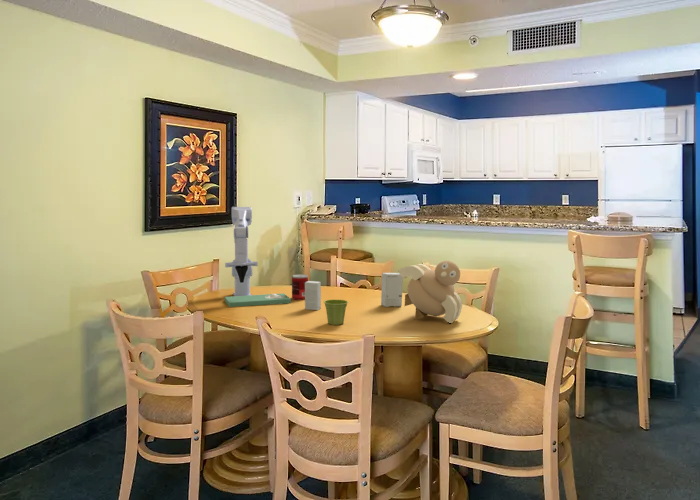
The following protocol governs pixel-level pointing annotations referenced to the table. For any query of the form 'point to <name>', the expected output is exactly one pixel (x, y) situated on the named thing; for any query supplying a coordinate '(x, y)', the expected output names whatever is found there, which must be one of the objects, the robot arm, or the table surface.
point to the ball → (273, 296)
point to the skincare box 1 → (312, 295)
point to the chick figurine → (433, 290)
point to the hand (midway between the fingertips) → (241, 282)
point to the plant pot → (335, 311)
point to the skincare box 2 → (391, 289)
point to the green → (256, 300)
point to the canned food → (299, 286)
